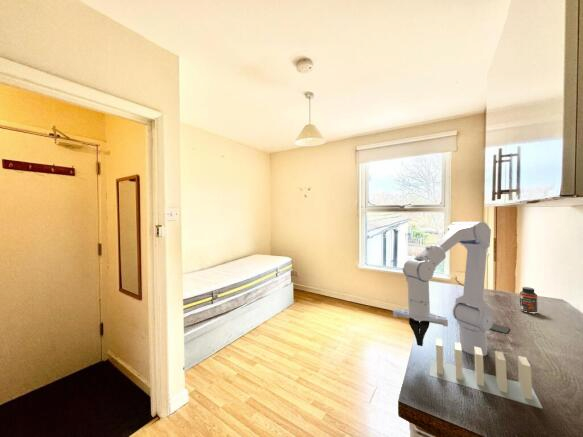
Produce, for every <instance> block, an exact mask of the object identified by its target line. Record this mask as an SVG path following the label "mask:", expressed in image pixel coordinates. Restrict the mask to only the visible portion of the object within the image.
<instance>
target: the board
mask: <svg viewBox="0 0 583 437" xmlns="http://www.w3.org/2000/svg"><path fill="white" fill-rule="evenodd" d="M462 370H463V380H460V379H456V365H454V364H450V363H447V362H443V375H442V374H438V373H437V360H434V359H430V368H429V376H430V377H432V378H437V379H439V380H442V381H446V382H450V383H453V384H457V385H460V386H463V387H467V388H471V389H474V390H478V391H481V392H484V393H488V394H491V395H495V396H497V397H501V398H505V399H508V400H512V401H515V402H518V403H521V404H526V405H528V406H531V407H536V408H539V409H541V410H542V409H544V408H543V405H542V404H541V402H540V400H539V398H538V396H537V395H536V392H535V390H534V388H533V387H532V400H530V399H527V398H524V397H523V395H522V393H521V390H520V388H519V381H517V380H516V381H515V380H512V379H509V378H507V393H506V392H502V391H499V388H498V385H497V381H496V375H492V374H488V373H485V372H484V386H481V385H477V382H476V377H475V369H474V370H473V369H469V368H465V367H462Z"/></svg>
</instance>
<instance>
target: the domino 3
mask: <svg viewBox="0 0 583 437" xmlns="http://www.w3.org/2000/svg"><path fill="white" fill-rule="evenodd" d="M494 357H495V359H494V361H495V376H496V381H497V385H498V388H499V391H502V392H506V393H507V379H508V378H507V377H508V376H507V361H506V360H507V359H506V357H505V355H504V352H502V351H497V350H495V351H494Z"/></svg>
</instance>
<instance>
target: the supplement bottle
mask: <svg viewBox="0 0 583 437" xmlns="http://www.w3.org/2000/svg"><path fill="white" fill-rule="evenodd" d="M521 288H522V289H521V290H522V291H520V292H519V310H520V309H521V310H523V311H527V312H537V311H539V309H538V295H537V293H536V292H535V288H533V287H527V286H523V287H521ZM521 310H520V311H521ZM523 311H522V312H523Z"/></svg>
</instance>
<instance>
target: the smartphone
mask: <svg viewBox="0 0 583 437" xmlns="http://www.w3.org/2000/svg"><path fill="white" fill-rule="evenodd" d="M488 331H492V332H496V333H500V334H503V333H504V335H508V334H509V333H510V331H511V328H510V327H508V326H504V325H500V324H497V323H496V324H495V323H493V325H492V327H491V328H490V329H489V330H488Z"/></svg>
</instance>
